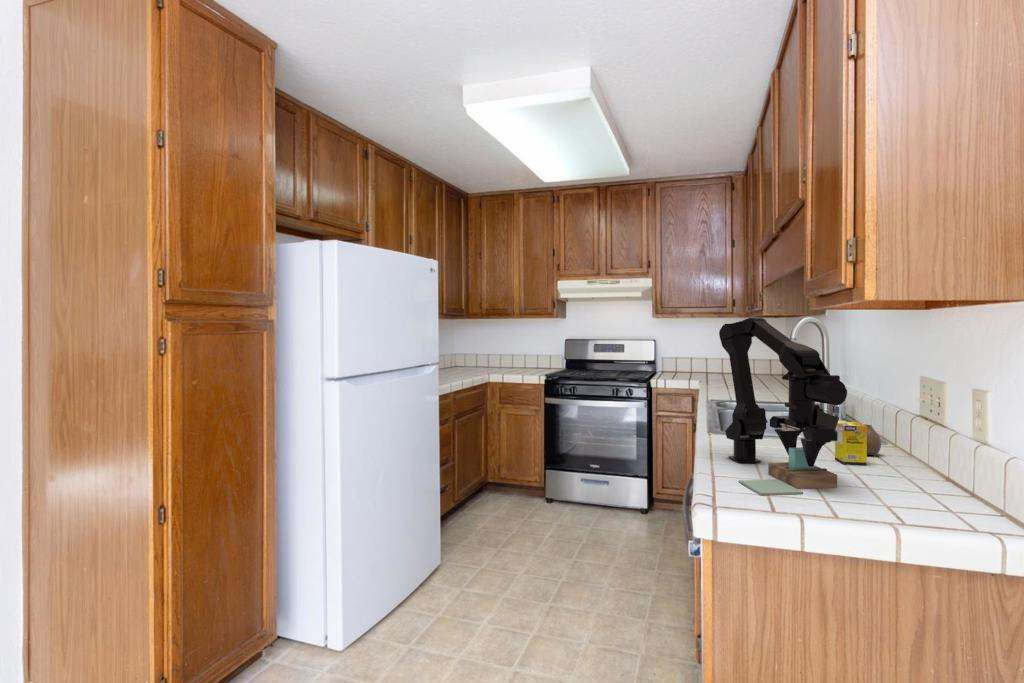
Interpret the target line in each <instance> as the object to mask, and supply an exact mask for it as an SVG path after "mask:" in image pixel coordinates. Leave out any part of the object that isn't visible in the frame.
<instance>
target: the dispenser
mask: <svg viewBox="0 0 1024 683" xmlns="http://www.w3.org/2000/svg"><path fill="white" fill-rule="evenodd" d="M767 467H768V469H767V471H768V473H767V474H768V475H769V476H771V477H772V478H774V479H778V480H780V481H782V482H784V483H786V484H788V485H790V486H792V487H794V488H796V489H798V490H800V489H825V488H826V489H827V488H830V489H831V488H838V474H837V473H834V472H831V471H829V470H828V468H826V467H825V468H824V467H823V468H821V467H819V466H816V465H815V464H814V469H789V461H788V462H786V461H785V462H780V461H779V462H768V464H767Z"/></svg>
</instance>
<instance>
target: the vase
mask: <svg viewBox="0 0 1024 683" xmlns="http://www.w3.org/2000/svg"><path fill="white" fill-rule="evenodd" d="M862 424H863V423H862ZM863 425H865V426H867V455H875V456H876V455H878V453H879V452H880V450H881V449H882V440H881V438H880V435H879V434H878V433H877V431H876V430H875V429H874V427H873V425H871V424H865V423H864V424H863Z"/></svg>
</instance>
